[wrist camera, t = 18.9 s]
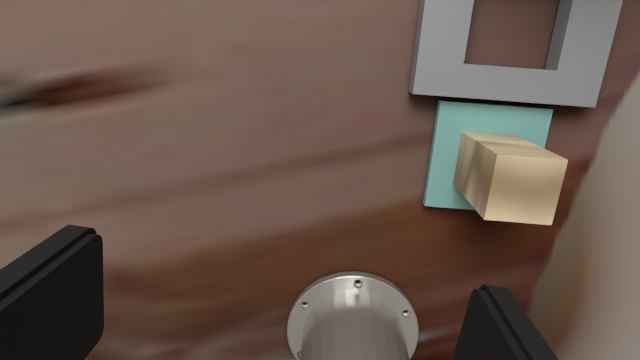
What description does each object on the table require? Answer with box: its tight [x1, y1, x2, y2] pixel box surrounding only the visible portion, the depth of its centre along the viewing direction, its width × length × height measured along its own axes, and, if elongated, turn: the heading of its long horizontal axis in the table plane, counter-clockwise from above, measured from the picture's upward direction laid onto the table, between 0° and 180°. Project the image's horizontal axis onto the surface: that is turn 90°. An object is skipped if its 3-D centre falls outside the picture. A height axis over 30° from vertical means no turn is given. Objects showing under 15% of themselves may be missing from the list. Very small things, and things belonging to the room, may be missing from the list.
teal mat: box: [423, 100, 553, 210], centre depth 36 cm, size 9×9×1 cm
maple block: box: [453, 131, 568, 225], centre depth 32 cm, size 4×4×8 cm
